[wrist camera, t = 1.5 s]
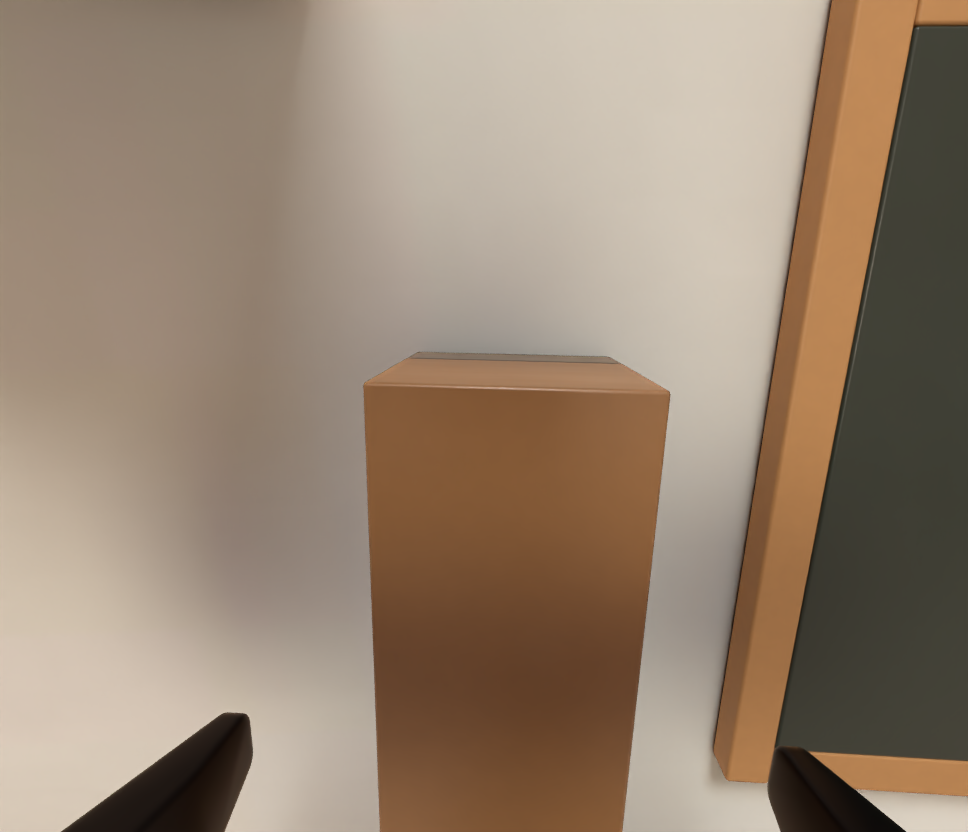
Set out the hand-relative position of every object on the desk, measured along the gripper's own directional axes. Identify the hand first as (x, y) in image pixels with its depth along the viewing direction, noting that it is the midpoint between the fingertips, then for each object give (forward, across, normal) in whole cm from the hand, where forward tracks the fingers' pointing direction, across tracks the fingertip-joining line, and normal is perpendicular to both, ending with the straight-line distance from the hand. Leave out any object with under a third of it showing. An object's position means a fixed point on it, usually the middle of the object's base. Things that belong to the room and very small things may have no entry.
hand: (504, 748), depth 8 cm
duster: (+6, 0, 0) cm, 6 cm away
